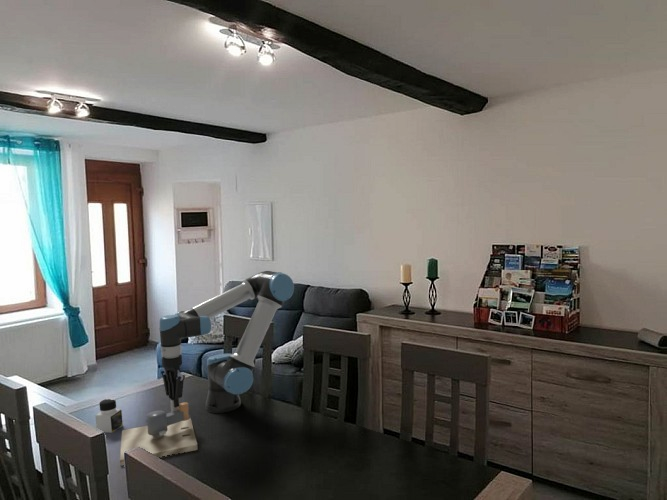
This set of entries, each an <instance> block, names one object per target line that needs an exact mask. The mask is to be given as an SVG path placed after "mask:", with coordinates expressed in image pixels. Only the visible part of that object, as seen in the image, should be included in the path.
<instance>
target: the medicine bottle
mask: <svg viewBox="0 0 667 500" xmlns="http://www.w3.org/2000/svg"><path fill="white" fill-rule="evenodd" d="M122 412H123V411H122V409H121V408H117V401H116V399H115V398H105V399H103V400H101V401H100V402H99V412H98V413H97V414H95V425H96V427H95V428H98V429H100V430H102V431H104V432H103V433H108V434H109V433H110V434H112V433H114V432H116V431H117V430H118V429H119V428H121V427H122V426H123V425H124V423H123V413H122Z"/></svg>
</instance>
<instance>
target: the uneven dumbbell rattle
mask: <svg viewBox="0 0 667 500" xmlns="http://www.w3.org/2000/svg"><path fill="white" fill-rule="evenodd" d="M189 406H190V405H189V402H186V401H183V402H181V403H180V402H179V410H177V411H174V412H171V411H170V412H168V413H167V411H166V410H161V409H160V410H159V409H158V410H152V411H150V412H149V413H147V414H146V426H147V427H148V434H149V435H164V434H166V431H167V430H168V429H167V426H169V425H172V424H174V423H177V422H180V421H186V420H188V419H189V418H191V415H190V414H191V412H190V409H189Z"/></svg>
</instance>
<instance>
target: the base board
mask: <svg viewBox="0 0 667 500" xmlns="http://www.w3.org/2000/svg"><path fill="white" fill-rule="evenodd" d="M167 429H168V430H167V431H166V434H164V435H149V434H148V427H147V425H144V426H138V427H133V428H132V427H131V428H128V429H122V430H121V441H120V454H119V466H121V467H122V466H125V465H124V452H125V451H128V450H130V449H132V448H135V447H140V448H143V449H145V450H146V451H148V452H150V453H152V454H154V455H156V456H157V457H160V458H163V457H162V456H165V457H168V456H167V455H170V456H173V455H172V454H175V455H178V453H180V454H183V453H184V452H185V453H188V452H193V451H197V450H198V442H197V437H196V434H195V430H194V427H193V421H192V419H191V417H190V418H189V419H188V420H186V421H180V422H177V423H174V424H172V425H169V426H167Z"/></svg>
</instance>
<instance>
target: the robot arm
mask: <svg viewBox="0 0 667 500" xmlns="http://www.w3.org/2000/svg"><path fill="white" fill-rule="evenodd" d="M294 290H295V284H294V281H293V279H292V278H291V276H289V275H288V274H286V273H283V272H277V271H272V270H265V271H260V272H258V273H256V274H253V275H252V276H250V277H247V278H246V279H243V280H242V282H241V284H239V285H236V286H234V287H233V288H229V290H226V291H224V292H222V293H220V294H218V295H216V296H214V297H212V298H210V299H208V300H205V301H204V302H201V303H200V304H197V305H196V306H193V307H191V308H189V309H187V310H185V311H184V310H183V311H177V312H175V314H168V315H164V316H161V317H160V319H159V328H158V329H159V339H160V352H161V367H163V368H164V370H161V371H160V374H161V376H162V380H163V386H164V392H165V396H166V397H167V396H168V398H169V402H170V403H169V404H170V413H171V412H174V411H177V410H179V404H180V401H179V399H181V398H182V397H183V392H184V390H183V389H184V382H185V378H186V375H185V374H183V375H182V373H181V372H182V371H181V368H180V367H181V365H183V356H182V353H183V350H182V339H187V338H193V337H200V336H205V335H209V334H210V333H211V330H212V322H211V319H212V318H214V317H216V316H218V315H220V314H222V313H225V312H226V311H228V310H230V309H232V308H234V307H236V306H238V305H240V304H242V303H244V302H246V301H249V300H255V299H256V298H257V300H258V302H257V304H256V307H255V309H254V311H253V312H252V314H251V317H250V319H249V321H248V324H247V326H246V328H245V330H244V333H242V337H241V339H240V340H239V343H238V345H237V347H236V349H235V351H234V353H219V354H214V355H212V356H211V355H210V356H209V357H208V358H207V360H206V370H207V371H206V372H207V383H208V392H207V396H206V400H205V410H206V411H208V412H209V413H214V414H220V413H221V414H222V413H228V412H232V411H235V410H237V409H238V408H240V407H241V404H242V402H241V397H240V395H242V394H244V393H246V392H247V391H249V389H250V388H251V387H252V386H253V384H254V383H253V382H254V374H253V371H254V369H255V367H256V365H255V363H254V361H255V358H256V355H257V354H258V352H259V350H260V347H261V345H262V343H263V341H264V339H265V336H266V334H267V333H268V332H267V331H268V330H269V328H270V325H271V324H272V321H273V319H274V316H275V315H276V314H275V313H276V312H277V310H278V309H281V308H282V307H283V305H284V303H285V301H286V302H287V301H289V299H291V297H292V296H293V294H294Z"/></svg>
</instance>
